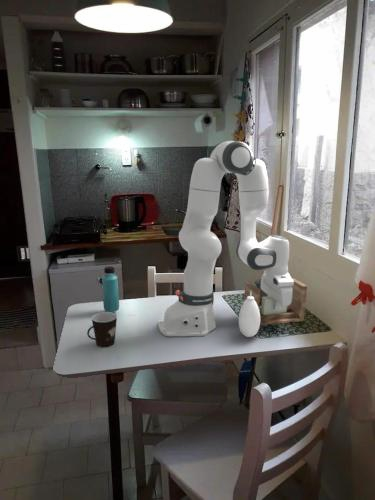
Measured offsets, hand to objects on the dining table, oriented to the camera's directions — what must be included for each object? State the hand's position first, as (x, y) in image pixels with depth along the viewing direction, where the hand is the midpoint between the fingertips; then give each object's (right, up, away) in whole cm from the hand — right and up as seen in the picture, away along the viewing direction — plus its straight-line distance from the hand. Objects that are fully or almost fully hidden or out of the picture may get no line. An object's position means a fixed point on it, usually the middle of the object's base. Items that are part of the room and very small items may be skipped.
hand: (273, 307), depth 155 cm
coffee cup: (-1, 0, +20) cm, 20 cm away
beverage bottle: (-67, -3, +6) cm, 67 cm away
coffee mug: (-65, -10, -21) cm, 69 cm away
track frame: (0, -5, +1) cm, 5 cm away
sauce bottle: (-13, -9, -14) cm, 21 cm away
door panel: (0, -2, +1) cm, 2 cm away
